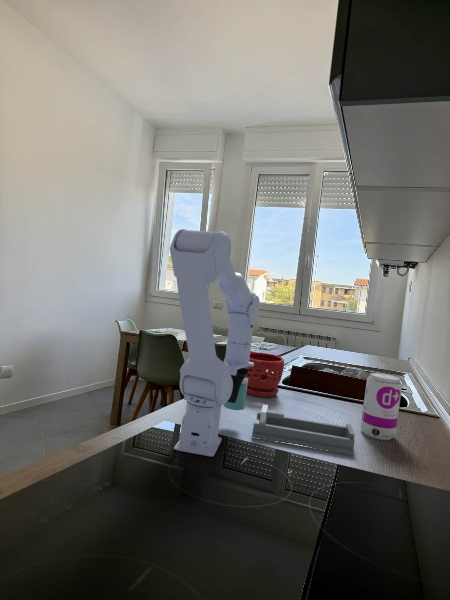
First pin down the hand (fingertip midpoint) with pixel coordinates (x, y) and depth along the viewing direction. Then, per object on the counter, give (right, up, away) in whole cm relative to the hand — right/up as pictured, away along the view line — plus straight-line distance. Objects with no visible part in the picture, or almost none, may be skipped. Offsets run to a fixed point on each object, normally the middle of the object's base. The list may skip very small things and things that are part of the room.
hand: (232, 398), depth 100 cm
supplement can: (+36, -11, +6) cm, 39 cm away
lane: (+15, -8, -2) cm, 17 cm away
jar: (0, -2, 0) cm, 2 cm away
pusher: (+9, -6, -1) cm, 11 cm away
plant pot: (+9, -6, +33) cm, 35 cm away
